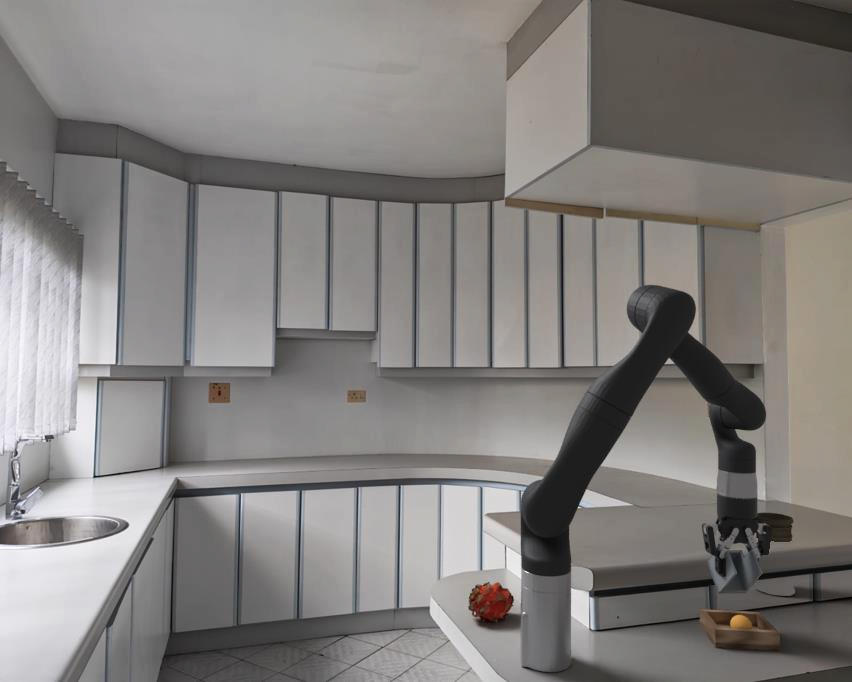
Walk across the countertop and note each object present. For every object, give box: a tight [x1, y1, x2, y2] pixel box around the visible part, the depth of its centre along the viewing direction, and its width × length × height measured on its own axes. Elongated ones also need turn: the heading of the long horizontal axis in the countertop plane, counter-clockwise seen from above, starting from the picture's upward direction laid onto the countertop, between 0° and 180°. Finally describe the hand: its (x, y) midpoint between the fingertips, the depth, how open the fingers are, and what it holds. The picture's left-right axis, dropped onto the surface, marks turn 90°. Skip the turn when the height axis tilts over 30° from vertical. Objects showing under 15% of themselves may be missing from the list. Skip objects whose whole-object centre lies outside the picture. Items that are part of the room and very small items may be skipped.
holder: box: [706, 549, 763, 595], centre depth 133 cm, size 7×6×9 cm
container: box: [755, 512, 794, 542], centre depth 158 cm, size 9×9×18 cm
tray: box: [699, 608, 781, 652], centre depth 132 cm, size 12×10×4 cm
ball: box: [730, 615, 752, 629], centre depth 130 cm, size 4×4×4 cm
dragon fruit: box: [467, 581, 515, 623], centre depth 141 cm, size 8×8×12 cm
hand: (736, 575), depth 132 cm, fingers closed on holder, 5 cm apart
